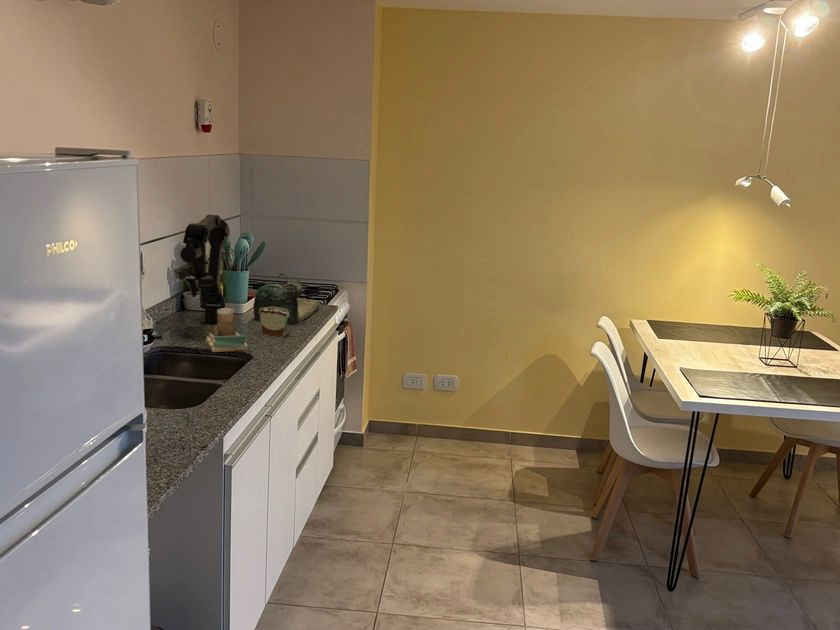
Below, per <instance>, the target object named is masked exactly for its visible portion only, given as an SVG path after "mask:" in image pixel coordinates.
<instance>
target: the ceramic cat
mask: <svg viewBox="0 0 840 630" xmlns="http://www.w3.org/2000/svg"><path fill="white" fill-rule="evenodd" d="M281 276H284V277H285V283H283V284H281V283H278V282H275V281H273V280H265V281H262V282H260V284H259V285H258V287H257V291H256V293H255V295H254V301H253V304H252V305H253V317H254V320H255V321H257V320H258V321H259V322H261V320H260V313H259V310H260V308H264V307H280V308H285V309H287V310H288V312H289V317H288V318H287V323H289V324H288V325H293V324H295V325H296V323H297V324H299V322H298V302H297V298H300V296H302V294H303V291H304V289H303V285H302V284H301V282H300V279H297V280H296V281H295V282H290V281H289V280H287V278H288V277H287V276H286V274H284V273H280V274H279V275H278V278H279V277H281ZM265 283H268V284H265ZM269 283H270V284H269ZM263 284H265V285H263ZM261 285H262V286H261ZM258 313H259V314H258Z"/></svg>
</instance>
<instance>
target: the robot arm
mask: <svg viewBox="0 0 840 630" xmlns="http://www.w3.org/2000/svg"><path fill="white" fill-rule="evenodd" d="M230 234H231V230H230V226H229V224H228V222H226V221H225V220H223V219H222V218H221V216H220V215H217V214H207V215H205V217H204V218H203V219H201V220H200V221H199V222H191V223H188V225H187V226H186V227H185V231H184V235H183V241H182V244H185V246H184V247H183V248H182V249H181V250H180V258H181V260H182V261H183V262H185V263H186V264H185V265H182V266H179V267H178V268H175V269H173V273H174V275H175V279H178V280H179V281H181V280H184V281H186V283H188V286H189V290H190V294H191V297H192V298H195V297H197V293H198V290H199V303H200V308H204V314H203V315H204V319H203V320H201V323H205V324H212V325H217V310H218V309H224V308H226V304H227V303H226V299H225V297H224V294H223V289H222V286H221V284H220V277H221V276H220V275H221V266H222V259H223V256H222V255H223V248H224V246H225V245H226V243H227V242H228V239H229V236H230ZM208 242H209V245H210V247H209V248H210V249H209V257H208V258H209V259H208V260H209V261H207V258H206V257H207V256H206V255H207V249H206V248H207V246H206V245H207V243H208ZM207 265H208V269H207Z"/></svg>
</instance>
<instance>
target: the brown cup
mask: <svg viewBox="0 0 840 630" xmlns="http://www.w3.org/2000/svg"><path fill="white" fill-rule="evenodd" d="M234 313H235V309H233V308H228V307H227V308H226V307H225V308H222V309H218V310H217V324H216V325H217V330H216V331H217V332H215V336H231V335H235V331H234V328H235V327H234V326H235V325H234V319H235V318H234Z"/></svg>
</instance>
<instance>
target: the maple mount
mask: <svg viewBox="0 0 840 630" xmlns="http://www.w3.org/2000/svg"><path fill="white" fill-rule="evenodd" d="M206 342H207V345H208V346H209V348H210V347H211V348H210V350H211V351H212V353H214V352H215V353H216V352H217V353H218V352H220V353H221V352H236V350H237V352H239V351H238V350H243V351H249V349H248V348H249V347H248V344H247V343H246V336H245V335H244V334H240V333H239V332H238V331H234V335H231V336H216V335H214V334H213V332H208V336H207V335H206Z"/></svg>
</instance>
